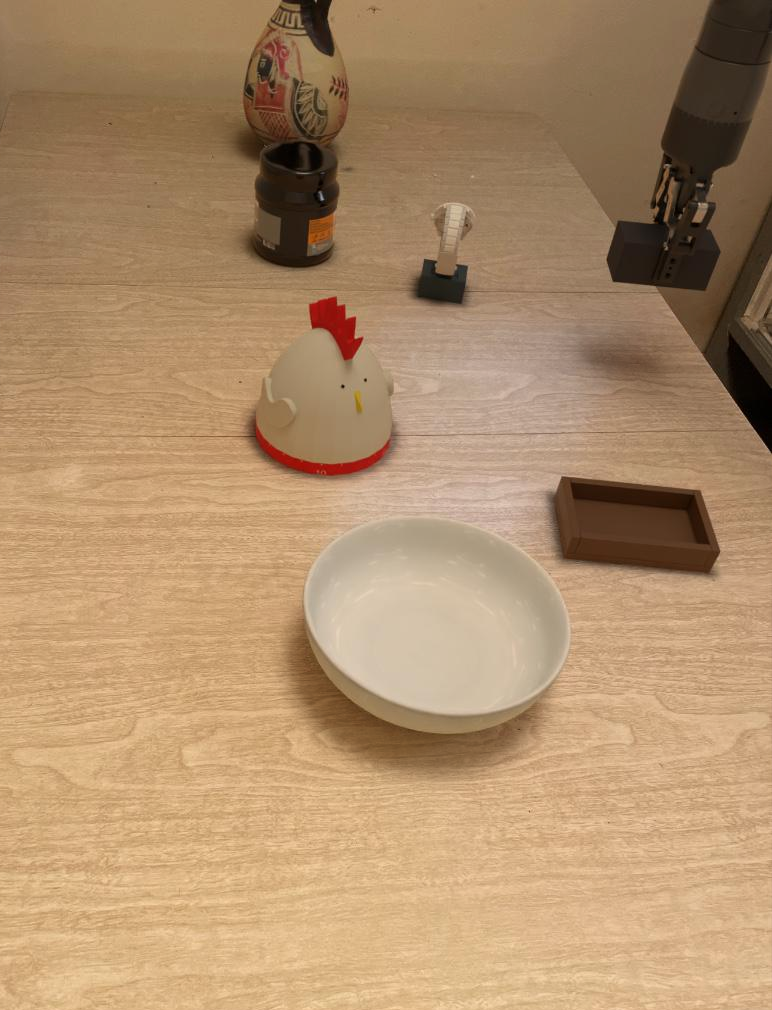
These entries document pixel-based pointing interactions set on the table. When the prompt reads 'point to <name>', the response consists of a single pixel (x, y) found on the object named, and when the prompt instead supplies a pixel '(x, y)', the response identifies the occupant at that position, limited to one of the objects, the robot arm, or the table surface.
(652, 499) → the brown wooden tray
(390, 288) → the table surface
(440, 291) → the cobra figurine
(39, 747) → the table surface
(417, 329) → the table surface
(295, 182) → the supplement container
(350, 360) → the kitchen timer
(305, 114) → the ceramic jug
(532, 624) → the serving bowl
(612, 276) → the black rectangular block
